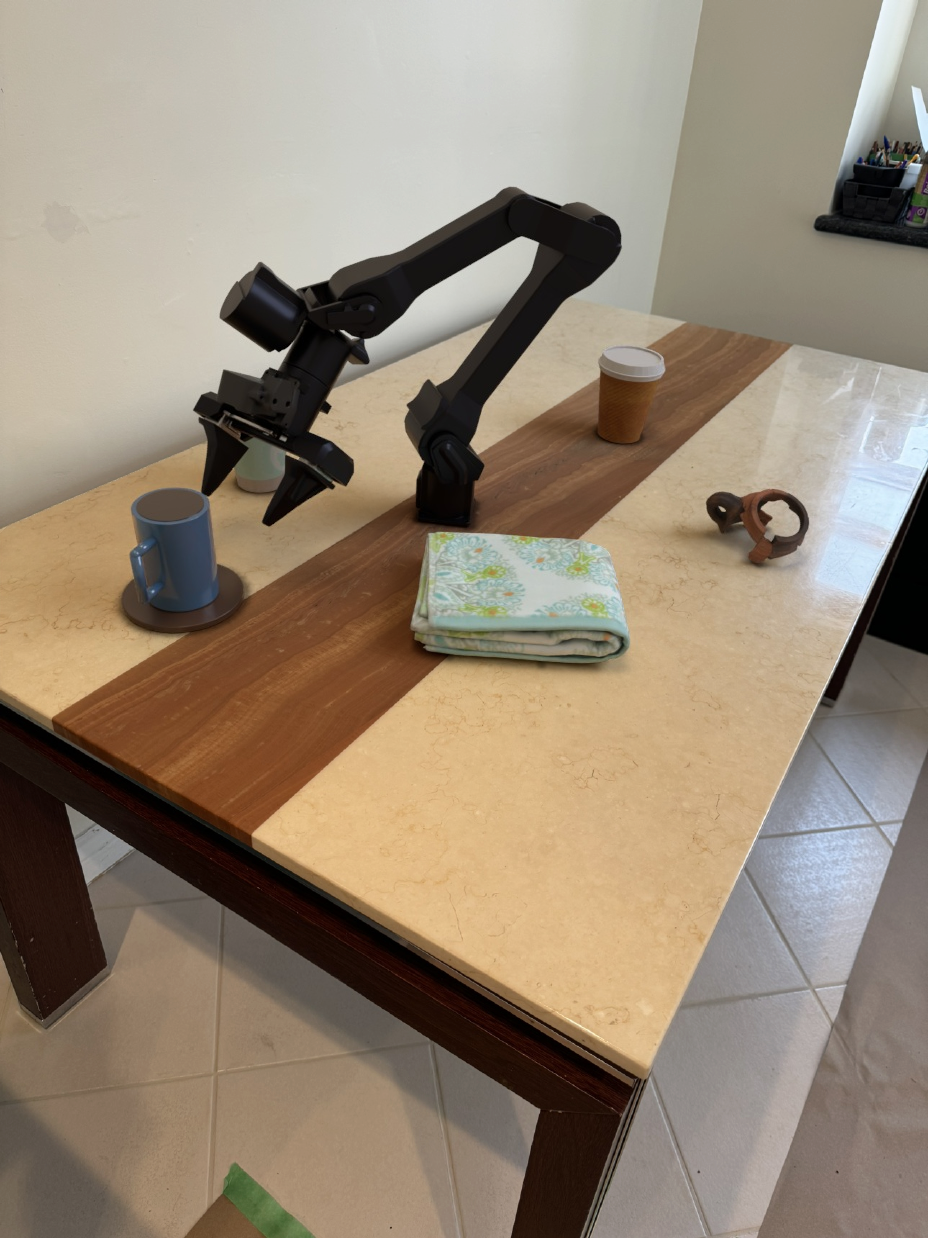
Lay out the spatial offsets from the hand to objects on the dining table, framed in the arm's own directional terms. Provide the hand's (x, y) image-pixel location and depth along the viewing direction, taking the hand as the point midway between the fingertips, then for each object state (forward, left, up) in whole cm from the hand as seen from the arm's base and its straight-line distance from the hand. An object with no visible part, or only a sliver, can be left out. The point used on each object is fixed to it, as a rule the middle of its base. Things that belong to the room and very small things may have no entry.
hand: (234, 509), depth 90 cm
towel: (-30, +1, -7) cm, 31 cm away
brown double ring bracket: (-57, -19, -7) cm, 61 cm away
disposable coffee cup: (-42, -47, -7) cm, 63 cm away
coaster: (+4, +6, -7) cm, 10 cm away
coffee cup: (+4, -20, -7) cm, 21 cm away
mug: (+4, +8, -6) cm, 11 cm away
